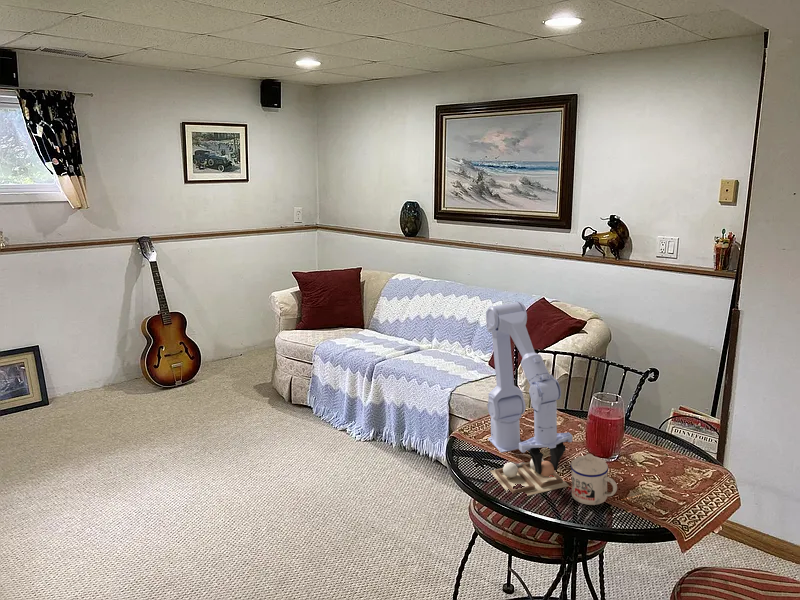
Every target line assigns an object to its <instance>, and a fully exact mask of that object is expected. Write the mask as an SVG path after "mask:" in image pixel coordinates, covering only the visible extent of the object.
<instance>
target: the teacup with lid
mask: <svg viewBox="0 0 800 600" xmlns="http://www.w3.org/2000/svg"><path fill="white" fill-rule="evenodd" d="M570 468H571V496H572V498H573V499H574V500H575V501H576V502H578V503H580V504H584V505H589V506H595V505H600V504H602V503H604V502H605V501H606V500H607V499H608V497H612V496H614V495H615V494H616V493H617V490H618V486H617V485H618V484H617V482H616V481H615V480H614V479H613V478H612V477H609V476H608V471H609V465H608V463H607V462H606V461H605V460H604V459H603V458H600V457H598V456H594V455H593V454H592V453H587V454H585V455H582V456H577V457H576V458H574V459H573V460H572V461H571V463H570ZM608 483H610V485H611V486H612V492H609V491H608Z"/></svg>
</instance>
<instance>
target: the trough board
mask: <svg viewBox="0 0 800 600" xmlns="http://www.w3.org/2000/svg"><path fill="white" fill-rule="evenodd" d="M514 464H515V465H516V466H517V468H518V473H517V475H516V476H515V477H512V478H509V477H507V476H505V474H504V473H503V467H501V468H497V469H491V470H489V473H491V475H493V477H494V478H495V479H496V480H497V481H498V483H499V484H500V485H501V486H502V488H503V489H504V490H505V491H506V492H507V490H508V489H509V490H510V491H511V492H512V493H513V494H514V493H516V492H525V493H526V494H527V496H528V497H529V496H532V495H537V494H542V493H545V492H549V491H554V490H558V489H562V488H565V487H566V488H567V487H570V485H569V484H568V483H567V482H566V481H565V480H564V479H563V478H562V477H561V476H560V475H559V474H558V473H557V472H556V470H554V472H553V474H552V475H553V476H554V477H552V476H551V477H549V476H543V475H542V474H538V473H537V472H536V471H534V470H533V469H532V468H531V466H530V461H527V462H523V461H522V462H518V463H514ZM563 480H564V481H563ZM515 484H516V485H517V484H521V485H522V486H525V487H522V488H518V489H513V486H516V485H515ZM527 496H526V497H527Z"/></svg>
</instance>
